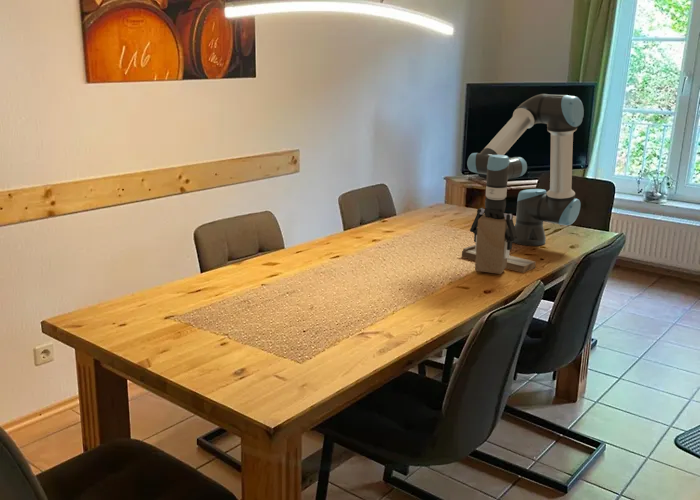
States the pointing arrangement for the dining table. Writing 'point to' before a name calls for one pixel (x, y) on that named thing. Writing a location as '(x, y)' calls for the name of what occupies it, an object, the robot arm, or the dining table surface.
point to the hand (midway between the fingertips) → (491, 254)
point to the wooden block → (491, 245)
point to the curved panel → (512, 261)
